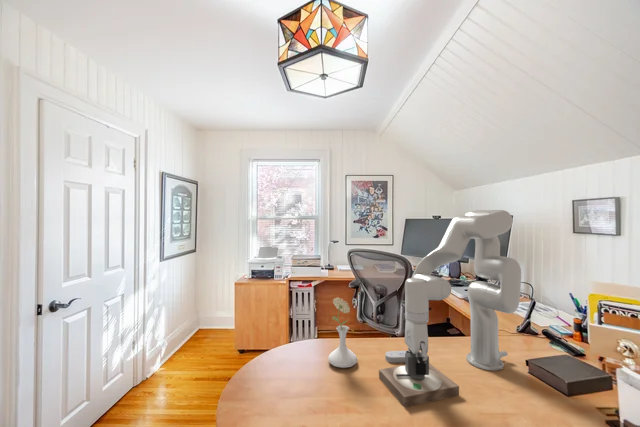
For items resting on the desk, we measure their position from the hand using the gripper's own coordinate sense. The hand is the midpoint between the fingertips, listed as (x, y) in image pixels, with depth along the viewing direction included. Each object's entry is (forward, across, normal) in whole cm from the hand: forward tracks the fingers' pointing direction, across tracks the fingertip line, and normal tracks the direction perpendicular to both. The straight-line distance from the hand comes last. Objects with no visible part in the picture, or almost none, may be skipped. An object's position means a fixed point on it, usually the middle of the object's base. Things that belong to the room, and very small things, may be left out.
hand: (416, 368), depth 95 cm
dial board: (+6, 0, 0) cm, 6 cm away
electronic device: (+7, -18, +1) cm, 19 cm away
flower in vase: (+6, -16, -24) cm, 30 cm away
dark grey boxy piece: (+3, 0, -2) cm, 3 cm away
